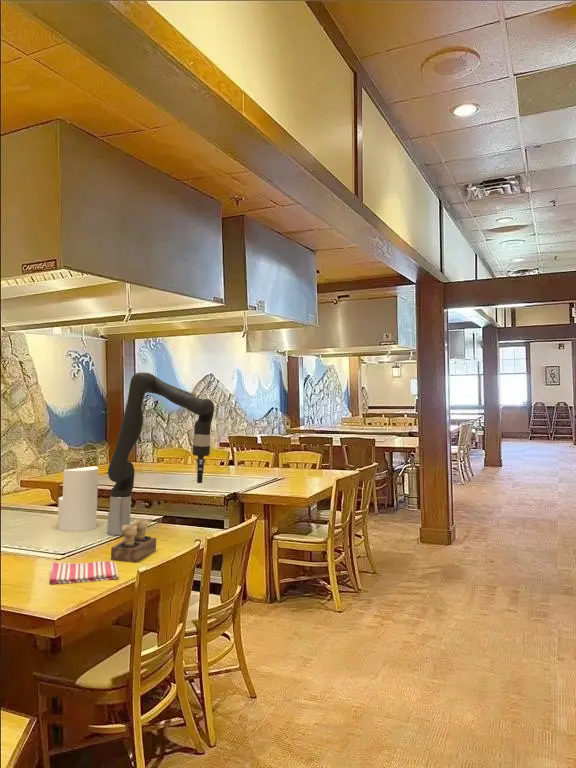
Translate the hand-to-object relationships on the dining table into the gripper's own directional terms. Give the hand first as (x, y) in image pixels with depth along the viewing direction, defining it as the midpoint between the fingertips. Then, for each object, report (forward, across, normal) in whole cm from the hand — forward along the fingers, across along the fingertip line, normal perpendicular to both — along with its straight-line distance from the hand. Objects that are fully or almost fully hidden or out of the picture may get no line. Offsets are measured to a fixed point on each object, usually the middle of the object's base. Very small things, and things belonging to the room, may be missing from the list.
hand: (199, 481), depth 264 cm
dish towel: (+28, +41, -40) cm, 64 cm away
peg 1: (+24, +22, -27) cm, 42 cm away
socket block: (+28, +17, -25) cm, 41 cm away
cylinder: (+29, -28, -56) cm, 69 cm away
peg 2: (+24, +12, -23) cm, 35 cm away
